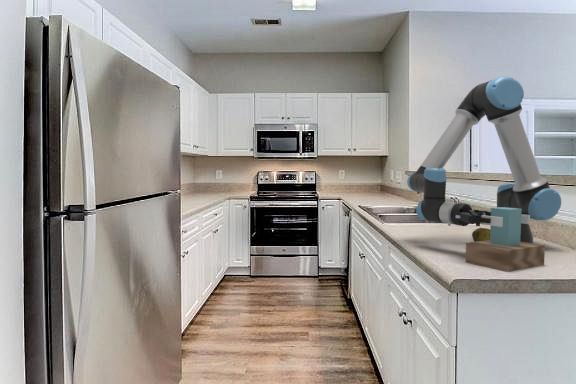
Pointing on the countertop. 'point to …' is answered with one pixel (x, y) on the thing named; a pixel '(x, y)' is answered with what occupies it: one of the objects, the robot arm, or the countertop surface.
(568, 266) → the countertop surface
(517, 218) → the teal block
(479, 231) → the potato
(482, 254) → the block
